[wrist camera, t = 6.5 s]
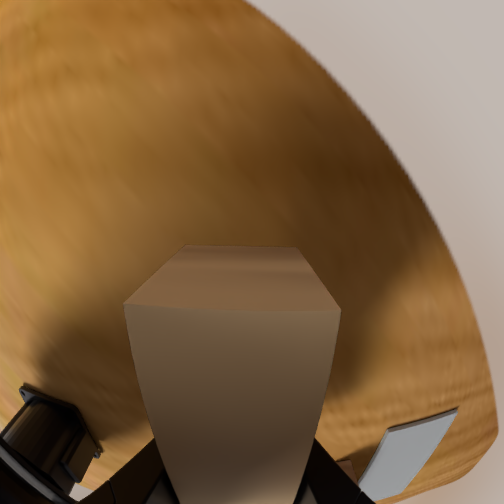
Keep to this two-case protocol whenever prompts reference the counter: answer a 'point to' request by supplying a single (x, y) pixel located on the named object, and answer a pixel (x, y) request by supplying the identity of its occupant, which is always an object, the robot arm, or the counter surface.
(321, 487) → the robot arm
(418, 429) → the mat
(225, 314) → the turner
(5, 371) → the counter surface
